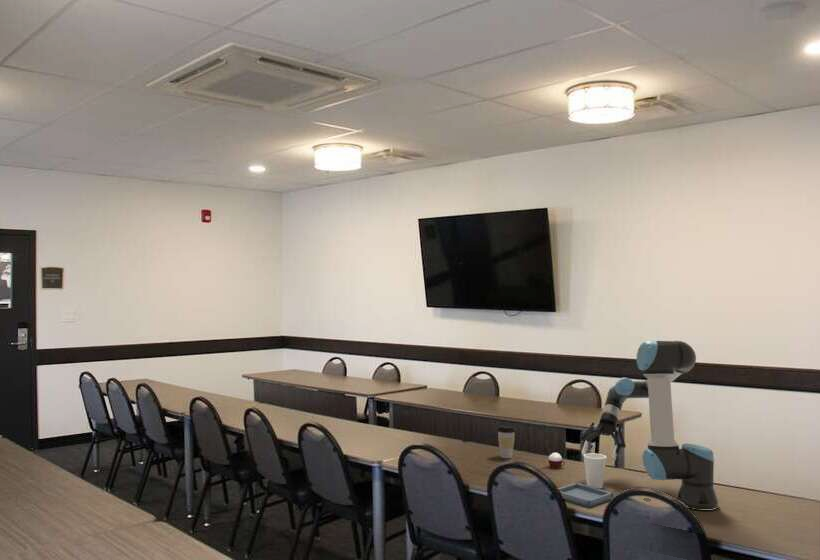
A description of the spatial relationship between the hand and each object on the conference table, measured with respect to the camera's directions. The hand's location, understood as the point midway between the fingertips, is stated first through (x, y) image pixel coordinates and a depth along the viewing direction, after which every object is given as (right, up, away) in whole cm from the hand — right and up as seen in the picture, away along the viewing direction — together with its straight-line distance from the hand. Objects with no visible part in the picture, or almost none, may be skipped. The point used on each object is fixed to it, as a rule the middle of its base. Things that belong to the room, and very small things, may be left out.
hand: (598, 457), depth 299 cm
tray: (-12, -11, -21) cm, 27 cm away
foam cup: (-3, -11, -5) cm, 13 cm away
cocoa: (-14, -11, +25) cm, 30 cm away
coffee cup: (-34, -11, +43) cm, 56 cm away
